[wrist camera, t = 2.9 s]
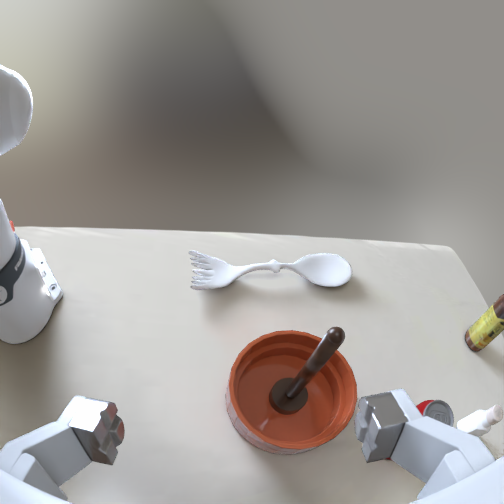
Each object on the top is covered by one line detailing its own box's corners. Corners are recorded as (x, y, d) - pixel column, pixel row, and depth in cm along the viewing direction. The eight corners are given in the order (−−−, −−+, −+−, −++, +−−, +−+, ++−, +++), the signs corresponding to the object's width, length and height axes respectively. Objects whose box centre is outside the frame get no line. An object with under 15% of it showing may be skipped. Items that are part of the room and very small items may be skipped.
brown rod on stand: (261, 394, 38) (300, 325, 25) (288, 376, 41) (337, 299, 28) (284, 421, 35) (340, 367, 23) (310, 401, 38) (374, 335, 25)
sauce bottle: (471, 356, 47) (531, 297, 34) (460, 333, 52) (514, 273, 38) (484, 349, 49) (540, 293, 35) (474, 328, 53) (525, 271, 40)
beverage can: (374, 421, 37) (419, 393, 29) (408, 423, 36) (455, 396, 28) (370, 460, 32) (419, 442, 24) (406, 461, 32) (458, 441, 23)
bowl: (201, 385, 38) (202, 369, 34) (290, 332, 48) (300, 311, 44) (276, 478, 30) (289, 475, 26) (359, 405, 39) (379, 392, 35)
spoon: (188, 261, 56) (188, 247, 53) (338, 258, 63) (344, 246, 61) (190, 299, 49) (190, 286, 47) (354, 289, 57) (361, 278, 55)
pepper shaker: (469, 424, 35) (504, 404, 29) (467, 443, 33) (504, 425, 26) (456, 420, 36) (492, 400, 30) (453, 439, 34) (491, 421, 27)
